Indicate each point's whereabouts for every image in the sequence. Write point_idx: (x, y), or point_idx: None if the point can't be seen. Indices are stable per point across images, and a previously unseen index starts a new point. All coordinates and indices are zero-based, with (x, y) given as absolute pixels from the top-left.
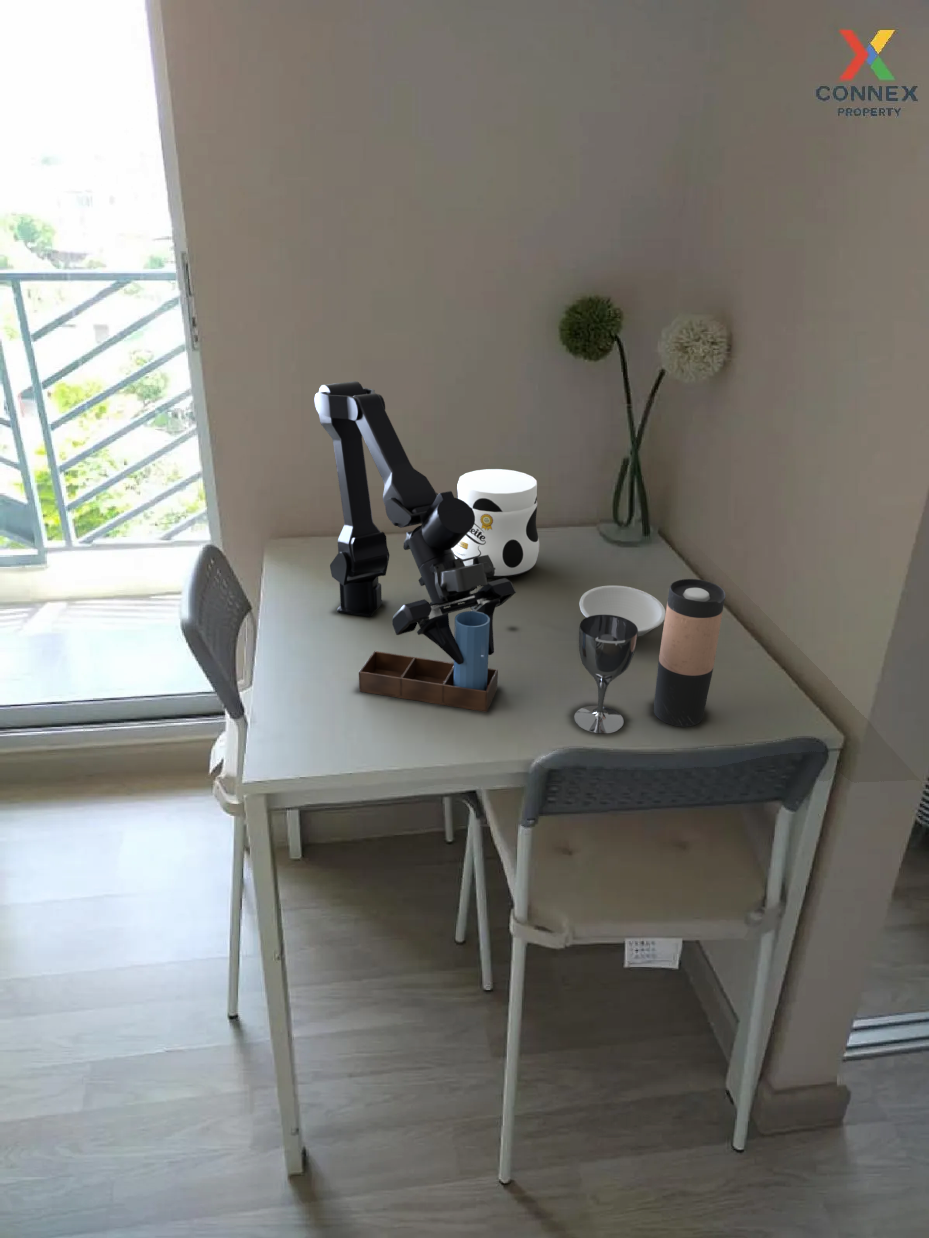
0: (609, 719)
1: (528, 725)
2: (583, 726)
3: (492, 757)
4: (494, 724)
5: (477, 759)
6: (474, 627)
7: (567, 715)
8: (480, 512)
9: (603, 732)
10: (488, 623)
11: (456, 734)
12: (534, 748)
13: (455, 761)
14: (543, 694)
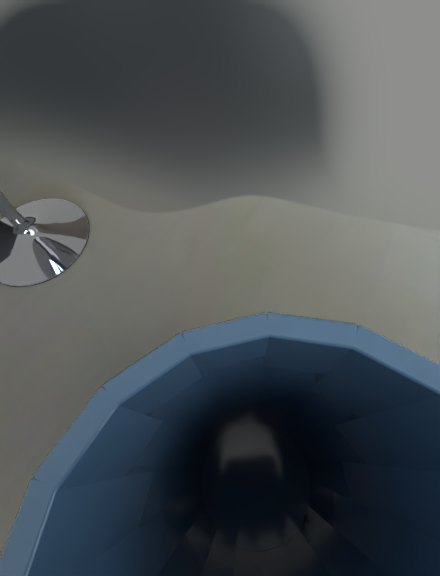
0: (26, 216)
1: (181, 276)
2: (84, 227)
3: (313, 212)
4: (254, 311)
5: (346, 217)
6: (356, 327)
7: (78, 276)
8: None
9: (67, 201)
10: (134, 367)
11: (364, 311)
12: (218, 208)
13: (396, 226)
14: (54, 383)
